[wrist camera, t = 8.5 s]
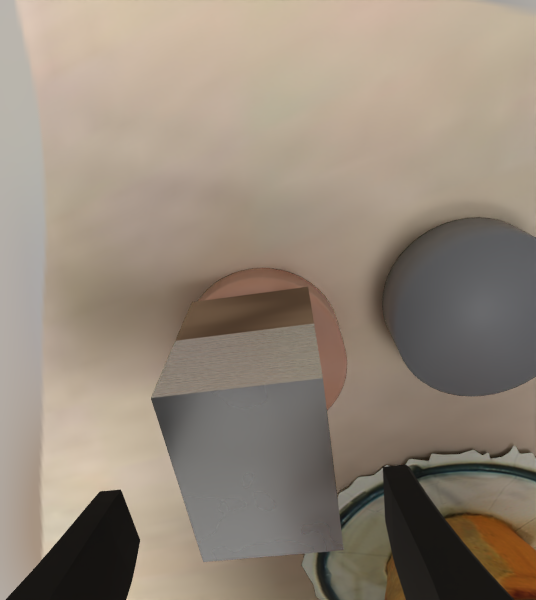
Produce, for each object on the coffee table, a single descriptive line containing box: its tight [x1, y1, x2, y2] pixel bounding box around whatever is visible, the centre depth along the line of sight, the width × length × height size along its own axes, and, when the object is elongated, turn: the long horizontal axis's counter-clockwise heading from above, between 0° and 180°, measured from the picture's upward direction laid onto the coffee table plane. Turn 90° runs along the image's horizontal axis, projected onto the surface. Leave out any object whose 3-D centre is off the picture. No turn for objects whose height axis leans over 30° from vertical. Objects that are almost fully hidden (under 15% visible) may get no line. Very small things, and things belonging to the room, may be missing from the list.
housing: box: [151, 287, 344, 562], centre depth 15 cm, size 4×6×6 cm
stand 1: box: [199, 268, 347, 410], centre depth 19 cm, size 7×7×2 cm
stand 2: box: [382, 218, 536, 396], centre depth 18 cm, size 7×7×2 cm
